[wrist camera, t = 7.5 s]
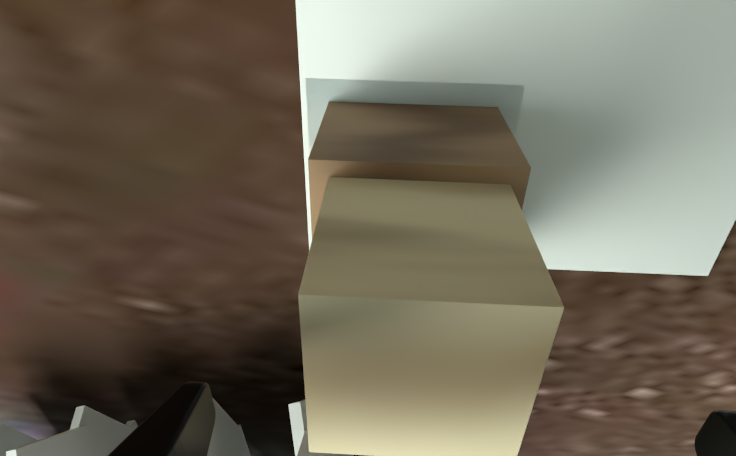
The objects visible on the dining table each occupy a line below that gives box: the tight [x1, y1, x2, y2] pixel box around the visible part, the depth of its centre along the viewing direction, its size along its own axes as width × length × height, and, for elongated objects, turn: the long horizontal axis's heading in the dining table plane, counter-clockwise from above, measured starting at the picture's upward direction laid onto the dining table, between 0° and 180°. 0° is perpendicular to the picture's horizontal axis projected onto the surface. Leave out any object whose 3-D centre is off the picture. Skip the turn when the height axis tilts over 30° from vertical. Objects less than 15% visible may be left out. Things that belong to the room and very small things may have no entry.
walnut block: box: [308, 101, 531, 239], centre depth 17 cm, size 6×6×5 cm
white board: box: [296, 0, 736, 276], centre depth 17 cm, size 17×14×1 cm
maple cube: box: [298, 177, 564, 456], centre depth 13 cm, size 5×5×5 cm
